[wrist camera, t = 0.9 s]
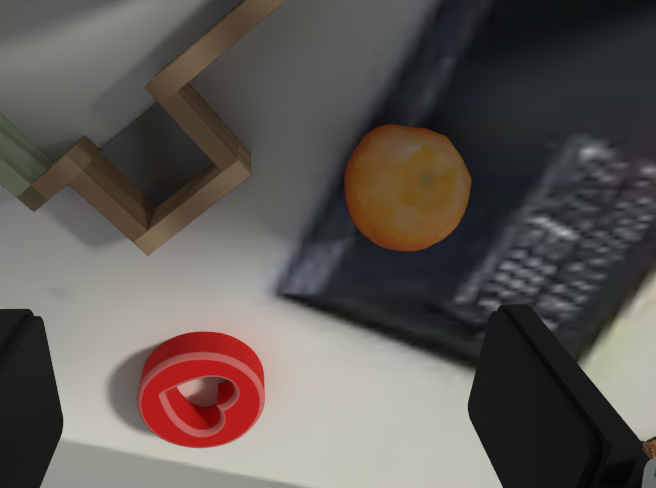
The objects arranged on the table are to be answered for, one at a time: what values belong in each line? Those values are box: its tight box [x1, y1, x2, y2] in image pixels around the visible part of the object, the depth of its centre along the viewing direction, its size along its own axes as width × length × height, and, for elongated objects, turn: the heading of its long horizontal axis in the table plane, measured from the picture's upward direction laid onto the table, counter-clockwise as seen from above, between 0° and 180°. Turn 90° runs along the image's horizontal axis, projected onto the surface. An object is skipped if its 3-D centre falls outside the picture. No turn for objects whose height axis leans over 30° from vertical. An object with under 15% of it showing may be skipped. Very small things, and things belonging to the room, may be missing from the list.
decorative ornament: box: [137, 332, 265, 448], centre depth 42 cm, size 10×10×3 cm
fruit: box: [344, 124, 472, 251], centre depth 35 cm, size 8×8×8 cm
